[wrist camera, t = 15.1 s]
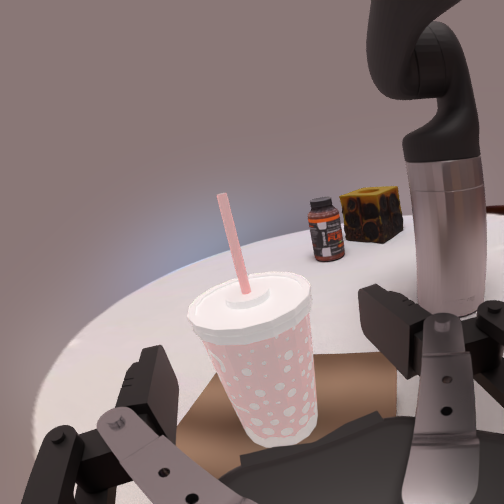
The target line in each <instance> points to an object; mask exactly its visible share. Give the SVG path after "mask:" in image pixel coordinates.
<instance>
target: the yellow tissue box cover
mask: <svg viewBox="0 0 504 504" xmlns="http://www.w3.org/2000/svg"><path fill="white" fill-rule="evenodd" d="M339 198H340V201H341V205H342V213H343V217H344V231H345V234H346V236H345V238H346V239H347V240H349V241H360V242H376V243H385V242H386V241H387V240H389V239H391V238H392V237H394V236H395V235H397V234H398V233H399V232H401V231H402V230H403V217H402V211H401V207H400V200H399V194H398V187H397V186H390V187H369V188H361V189H358V190H355V191H352V192H350V193H348V194H344V195H341V196H339Z"/></svg>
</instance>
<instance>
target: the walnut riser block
mask: <svg viewBox="0 0 504 504" xmlns="http://www.w3.org/2000/svg"><path fill="white" fill-rule="evenodd" d="M313 359H314V371H315V383H316V397H317V411H318V417H317V424H316V427H315V428H314V429H313V431H312V432H311V433H310V435H309V436H308V437H306V438H305V439H303V440H302V441H300V442H299V443H297V444H305V443H312V442H315V441H317V440H319V439H320V438H322V437H324V436H326V435H327V434H329V433H331V432H332V431H334V430H336V429H337V428H339V427H340V426H342V425H344V424H345V423H348V422H350V421H353V420H355V419H358V418H360V417H363V416H365V415H367V414H370V413H372V412H374V411H378V412H379V414H380V415H381V417H382V418H388V417H396V404H397V369H396V367H395V366H394V365H393V364H392V363H391V362H390V361H389V360H388V359H387V358H386V357H385V356H384V355H383V354H382V353H381V352H367V353H347V354H313ZM297 444H294V445H297ZM176 446H177V447H178V448H179V449H180V450H181V451H182V452H183V453H185V454H186V455H187V456H188V457H189V458H191V459H192V460H193V461H194V462H196V463H197V464H198V465H199V466H201V467H202V468H203V469H204V470H206V471H207V472H208V473H209V474H211V475H212V476H213V477H215V478H216V479H219V478H220V477H221V476H223V475H224V474H225V473H227V472H228V471H230V470H232V469H234V468H236V467H238V466H240V465H241V462H240V456H239V455H243V454H248V453H252V452H256V451H260V450H264V449H268V448H266V447H264V446H261V445H259V444H257V443H254V442H253V441H252V439H251V438H250V437H249V436H248V435H247V433H246V431H245V429H244V427H243V425H242V423H241V422H240V420H239V418H238V416H237V414H236V412H235V410H234V408H233V405H232V403H231V401H230V399H229V397H228V395H227V393H226V391H225V389H224V387H223V385H222V383H221V380H220V378H219V376H218V374H217V372H216V374H215V375H214V377H213V378H212V379H211V381H210V382H209V384H208V385H207V386H206V388H205V389H204V390H203V392H202V393H201V395H200V396H199V397H198V399H197V400H196V401H195V403H194V404H193V405H192V407H191V408H190V410H189V411H188V412H187V414H186V415H185V416H184V418H183V419H182V420H181V422H180V423H179V424H178V426H177V430H176Z"/></svg>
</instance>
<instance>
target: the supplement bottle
mask: <svg viewBox="0 0 504 504" xmlns="http://www.w3.org/2000/svg"><path fill="white" fill-rule="evenodd" d="M310 204H311V211H310V212H309V214H308V221H309V227H310V233H311V238H312V244H313V250H314V255H315V258H316V259H317V260H320V261H332V260H336V259H339V258H341V257H342V256H343V255H344V253H345V250H344V242H343V236H342V229H341V223H340V216H339V212H338V210H337V209H336V208H335V207H334V206H333V205H332V201H331V197H322V198H316V199H312V200H311V201H310Z"/></svg>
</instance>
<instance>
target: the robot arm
mask: <svg viewBox="0 0 504 504" xmlns="http://www.w3.org/2000/svg"><path fill="white" fill-rule="evenodd" d="M459 1H461V0H371V7H370V15H369V22H368V31H367V41H366V47H367V48H366V49H367V50H366V52H367V61H368V67H369V71H370V75H371V77H372V80H373V82H374V84H375V85H376V87H377V88H378V90H379V91H380V92H381V93H382V94H384V95H385V96H386V97H389V98H392V99H397V100H412V99H425V98H437V104H438V110H437V113H436V115H435V116H434V118H433V119H432V120H431V121H430V122H429V123H427V124H426V125H424V126H423V127H421V128H419V129H417V130H415V131H413V132H411V133H409V134H407V135H406V136H405V137H404V138H403V142H402V146H403V151H404V157H405V161H406V168H407V175H408V181H409V188H410V194H411V202H412V211H413V221H414V232H415V245H416V262H417V300H418V304H419V305H420V306H419V305H418V304H415V303H414V302H413V301H411V300H409V299H408V298H407V297H405V296H404V295H402V294H400V293H396V292H393V291H386V290H385V289H383V288H382V287H380V286H379V285H377V284H374V285H371V286H368V287H365V288H362V289H359V291H358V300H359V311H360V322H361V327H362V330H363V333H364V335H365V336H366V337H367V338H368V340H369V341H370V342H371V343H372V344H373V345H374V346H375V347H376V348H377V349H378V350H379V351H380V352H381V353H382V354H383V355H384V356H385V357H386V358H387V359H388V360H389V361H390V362H391V363H392V364H393V365H394V366H395V367H396V369H397V370H398V371H399V372H400V373H401V374H402V375H403V376H404V377H405V378H406V379H407V380H408V379H410V378H412V377H414V376H416V375H419V376H420V382H419V391H418V400H417V407H416V415H415V417H410V416H396V417H388V418H382V417H381V415H380V414H379V412H378V411H374V412H372V413H370V414H367V415H365V416H363V417H360V418H358V419H355V420H353V421H350V422H348V423H345V424H344V425H342V426H340V427H339V428H337V429H336V430H334V431H332V432H331V433H329V434H327V435H326V436H324V437H322V438H320V439H319V440H317V441H315V442H312V443H305V444H297V445H288V446H277V447H271V448H268V449H264V450H260V451H256V452H252V453H248V454H243V455H239V456H240V462H241V465H240V466H238V467H236V468H234V469H232V470H230V471H228V472H227V473H225V474H224V475H223V476H221V477H220V478H219V479H216V478H215V477H213V476H212V475H211V474H209V473H208V472H207V471H206V470H204V469H203V468H202V467H201V466H199V465H198V464H197V463H196V462H194V461H193V460H192V459H191V458H189V457H188V456H187V455H186V454H185V453H183V452H182V451H181V450H180V449H179V448H178V447H177V446H176V430H177V413H178V397H179V386H178V381H177V378H176V376H175V373H174V371H173V369H172V366H171V364H170V362H169V360H168V357H167V355H166V353H165V350H164V348H163V347H162V345H157V346H153V347H148V348H144V349H142V352H141V356H140V359H139V362H136V363H133V364H132V365H131V367H130V368H129V369H128V370H127V372H126V375H125V378H124V381H123V384H122V388H121V390H120V393H119V396H118V400H117V403H116V406H115V408H113V409H111V410H109V411H107V412H106V413H104V414H103V415H102V416H101V417H100V418H99V420H98V422H97V429H94V430H91V431H88V432H85V433H82V434H79V435H78V433H77V432H76V430H75V429H74V428H73V427H71V426H69V425H62V426H58V427H56V428H54V429H52V430H51V431H50V432H48V434H47V435H46V436H45V438H44V440H43V442H42V445H41V447H40V450H39V453H38V455H37V458H36V461H35V463H34V466H33V469H32V472H31V474H30V477H29V481H28V483H27V486H26V490H25V493H24V496H23V499H22V502H21V504H115V498H116V488H117V486H118V485H121V484H124V483H127V482H130V481H133V480H134V482H135V483H136V484H137V485H138V487H139V488H140V489H141V490H142V491H143V493H144V494H145V495H146V496H147V497H148V498H149V499H150V501H151V502H152V503H153V504H504V434H500V433H493V432H487V431H481V430H476V412H475V394H474V382H473V379H474V380H475V381H476V382H477V383H478V384H480V385H481V386H482V387H483V388H484V389H485V390H486V391H487V392H488V393H489V394H490V395H491V396H492V397H493V398H494V399H495V400H496V401H497V402H498V403H499V404H500V405H501V406H502V407H503V408H504V358H503V357H502V356H503V351H504V302H501V301H496V300H490V301H485V302H484V293H485V280H486V261H487V222H486V203H485V202H486V201H485V188H484V179H483V170H482V162H481V156H480V147H479V121H478V114H477V109H476V104H475V99H474V94H473V89H472V84H471V79H470V75H469V70H468V66H467V63H466V59H465V56H464V53H463V50H462V47H461V45H460V43H459V41H458V39H457V37H456V35H455V34H454V32H453V31H452V30H451V29H450V28H449V27H448V26H447V25H446V24H444V23H442V22H437V21H433V20H435V19H436V18H437V17H439V16H440V15H441V14H443V13H444V12H445V11H447V10H448V9H450V8H451V7H453V6H454V5H455V4H457V3H458V2H459ZM476 310H477V317H474V318H471V319H467V320H463V321H461V320H460V318H459V316H464V315H467V314H470V313H473V312H474V311H476ZM75 483H76V484H77V489H76V494H75V499H74V494H73V492H74V486H75Z"/></svg>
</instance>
